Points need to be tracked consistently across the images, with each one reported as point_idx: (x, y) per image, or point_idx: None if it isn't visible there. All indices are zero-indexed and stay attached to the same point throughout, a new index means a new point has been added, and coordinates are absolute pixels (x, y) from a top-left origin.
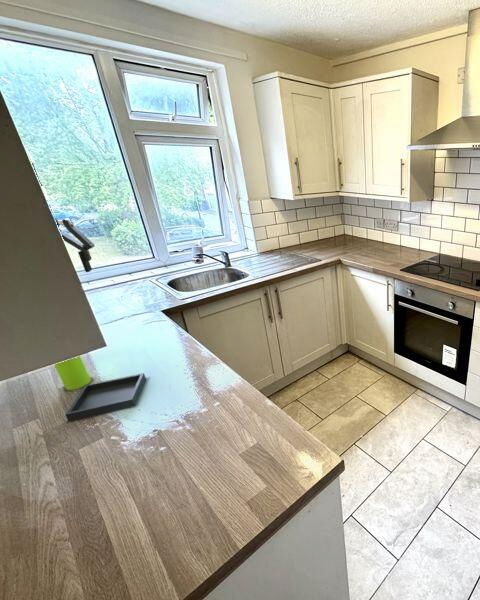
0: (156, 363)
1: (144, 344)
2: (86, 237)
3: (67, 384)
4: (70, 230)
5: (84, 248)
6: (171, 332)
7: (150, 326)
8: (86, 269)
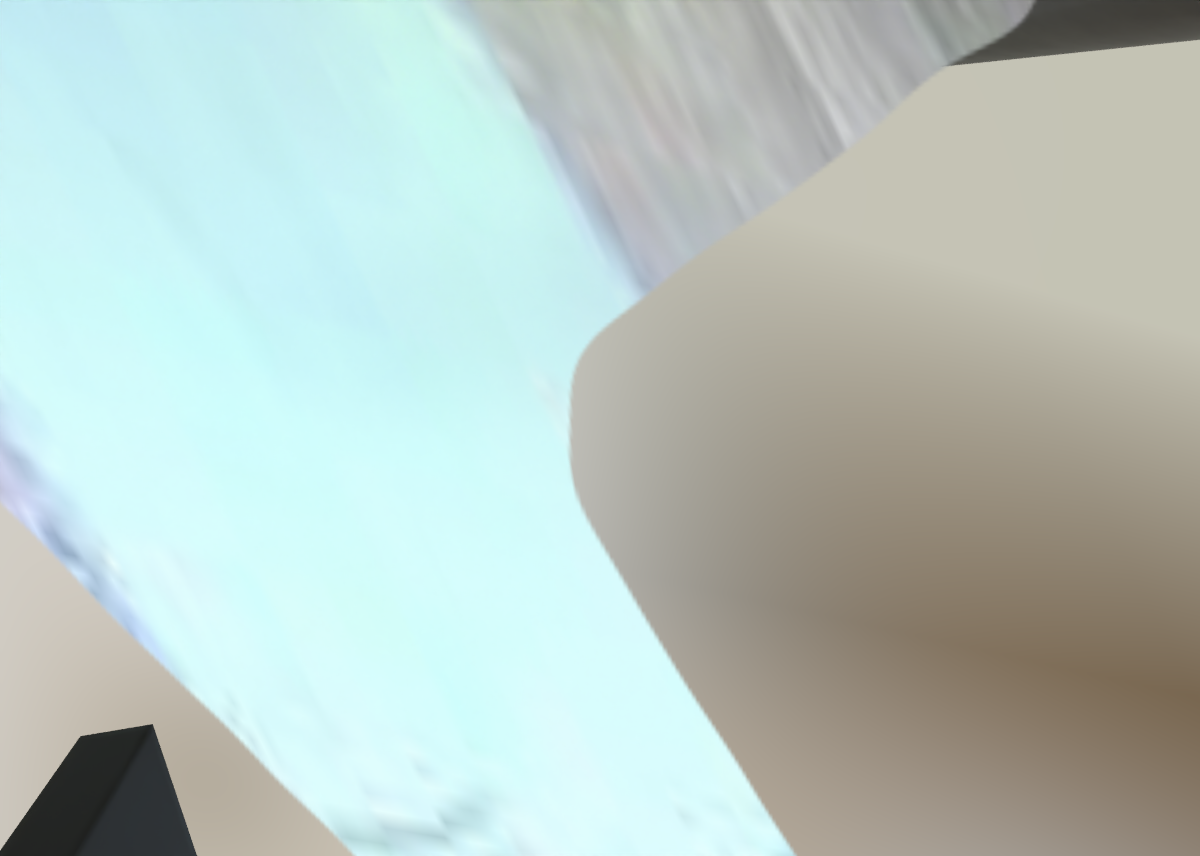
0: (29, 52)
1: (316, 440)
2: None
3: None
4: None
5: None
6: (180, 609)
7: (421, 753)
8: (72, 782)
